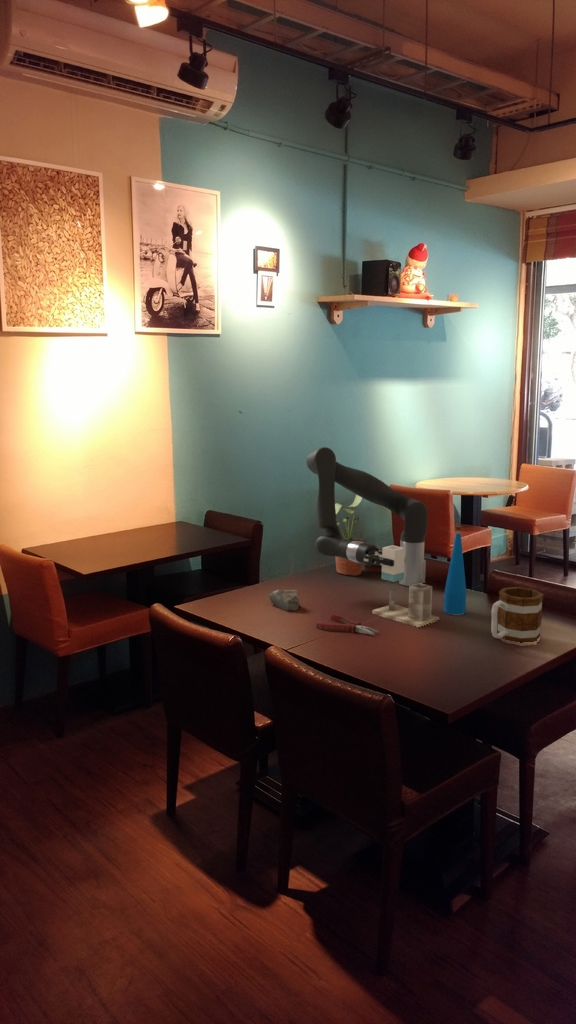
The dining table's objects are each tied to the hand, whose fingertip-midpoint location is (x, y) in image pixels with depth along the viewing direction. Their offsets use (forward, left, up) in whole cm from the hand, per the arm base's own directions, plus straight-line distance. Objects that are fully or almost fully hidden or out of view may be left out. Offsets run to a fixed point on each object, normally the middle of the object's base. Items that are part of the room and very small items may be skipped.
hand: (399, 562), depth 265 cm
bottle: (-20, +5, -19) cm, 28 cm away
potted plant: (-9, -56, -19) cm, 60 cm away
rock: (+31, -24, -19) cm, 44 cm away
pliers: (+24, +7, -19) cm, 32 cm away
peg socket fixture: (-1, +3, -19) cm, 19 cm away
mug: (-20, +36, -19) cm, 45 cm away
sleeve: (+1, -2, -6) cm, 7 cm away
